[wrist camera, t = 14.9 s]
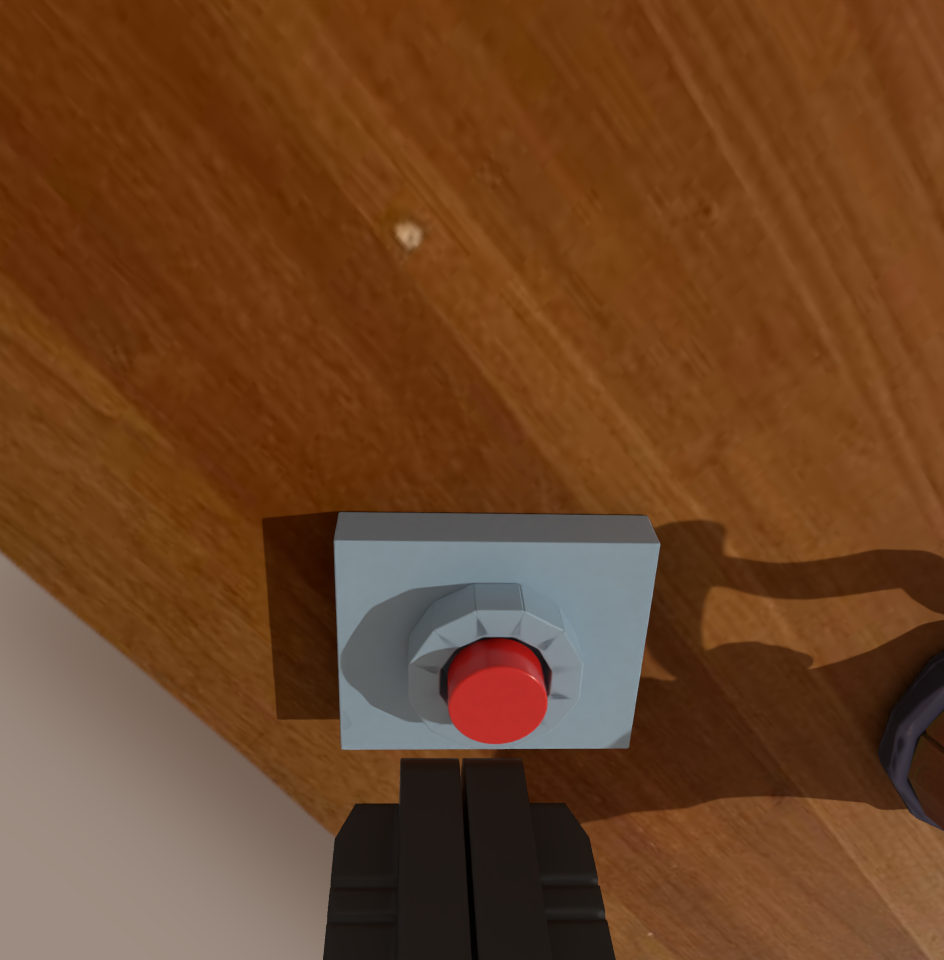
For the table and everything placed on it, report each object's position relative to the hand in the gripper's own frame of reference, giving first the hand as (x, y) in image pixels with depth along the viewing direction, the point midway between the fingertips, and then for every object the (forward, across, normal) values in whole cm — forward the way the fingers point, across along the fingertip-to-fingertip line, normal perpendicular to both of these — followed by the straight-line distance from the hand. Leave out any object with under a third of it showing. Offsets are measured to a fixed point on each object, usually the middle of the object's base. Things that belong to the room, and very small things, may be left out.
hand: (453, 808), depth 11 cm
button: (+18, -3, +13) cm, 23 cm away
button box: (+22, -3, +13) cm, 26 cm away
